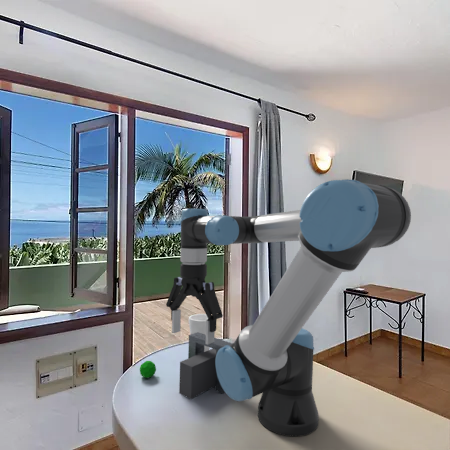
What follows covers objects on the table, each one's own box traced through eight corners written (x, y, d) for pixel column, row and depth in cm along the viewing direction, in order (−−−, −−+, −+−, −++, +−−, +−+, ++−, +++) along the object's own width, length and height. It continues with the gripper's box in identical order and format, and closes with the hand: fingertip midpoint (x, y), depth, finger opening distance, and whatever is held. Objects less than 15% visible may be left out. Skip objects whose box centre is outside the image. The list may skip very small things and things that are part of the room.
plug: (239, 373, 111) (240, 346, 111) (191, 399, 95) (192, 367, 95) (226, 368, 115) (227, 342, 115) (178, 392, 98) (179, 361, 98)
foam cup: (191, 346, 134) (192, 313, 134) (214, 348, 133) (215, 314, 133) (185, 355, 125) (186, 320, 124) (210, 357, 123) (211, 321, 123)
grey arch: (231, 388, 101) (233, 343, 101) (223, 394, 98) (224, 347, 98) (196, 373, 111) (197, 332, 110) (187, 377, 107) (188, 335, 107)
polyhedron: (138, 374, 109) (138, 359, 109) (153, 372, 111) (154, 357, 111) (141, 381, 104) (141, 366, 104) (157, 379, 106) (157, 363, 106)
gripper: (236, 266, 92) (234, 344, 93) (174, 258, 108) (173, 325, 108) (218, 268, 87) (216, 352, 87) (155, 260, 103) (154, 330, 103)
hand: (192, 337), depth 98 cm, fingers open, 13 cm apart
